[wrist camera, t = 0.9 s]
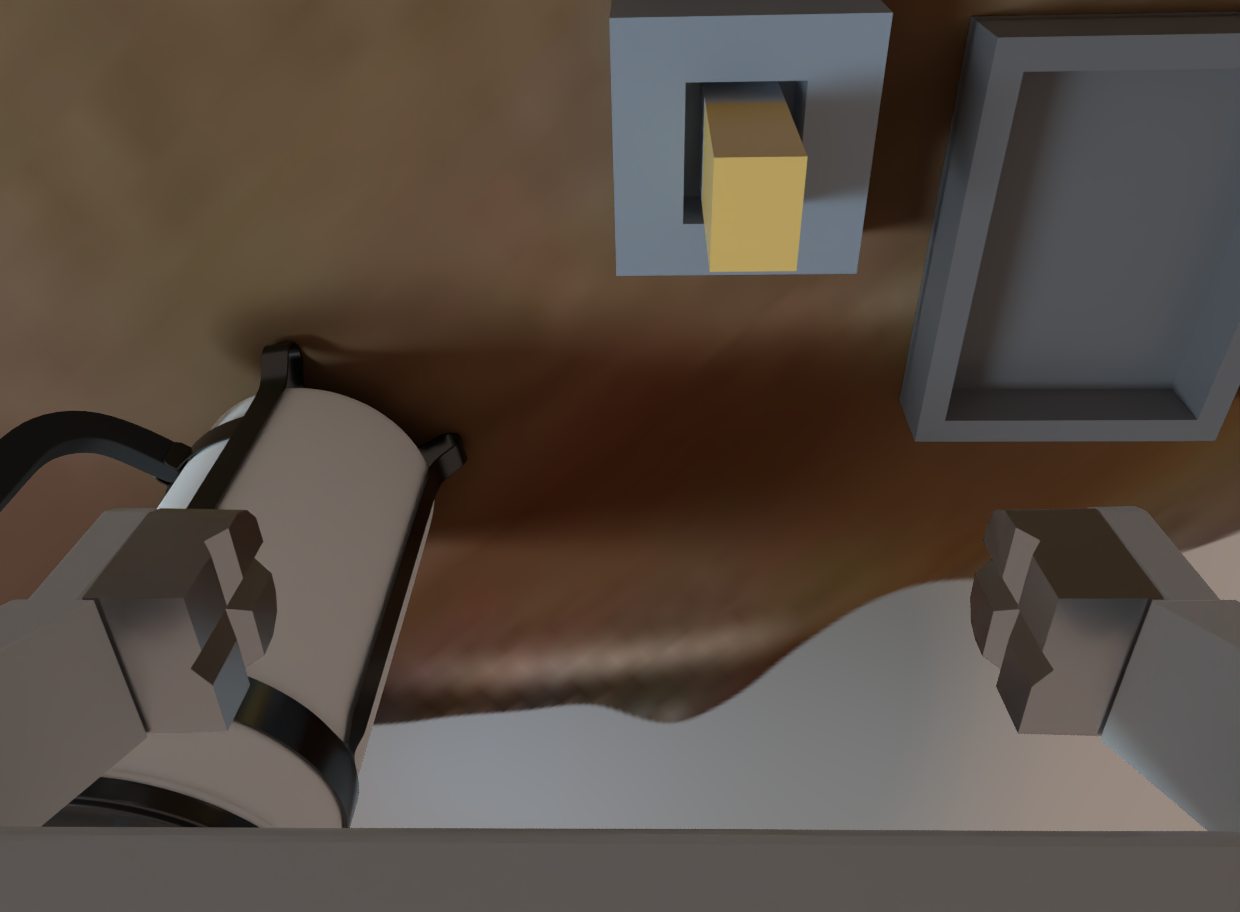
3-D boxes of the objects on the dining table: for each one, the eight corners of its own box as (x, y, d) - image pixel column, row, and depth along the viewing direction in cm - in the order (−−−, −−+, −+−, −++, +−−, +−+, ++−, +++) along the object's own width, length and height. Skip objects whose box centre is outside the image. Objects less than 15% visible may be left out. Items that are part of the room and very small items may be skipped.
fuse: (701, 81, 37) (714, 157, 30) (777, 79, 37) (807, 156, 30) (699, 179, 40) (709, 271, 32) (769, 178, 39) (796, 271, 32)
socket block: (613, -5, 36) (609, 18, 33) (871, -10, 36) (892, 12, 33) (619, 236, 42) (616, 275, 39) (840, 234, 42) (856, 273, 39)
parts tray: (971, 16, 36) (997, 37, 34) (1338, 9, 36) (1396, 30, 33) (899, 401, 47) (914, 441, 44) (1181, 400, 47) (1214, 440, 44)
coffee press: (436, 307, 45) (186, 940, 21) (492, 553, 54) (364, 1183, 30) (92, 329, 46) (-523, 950, 22) (205, 565, 55) (-137, 1180, 31)
